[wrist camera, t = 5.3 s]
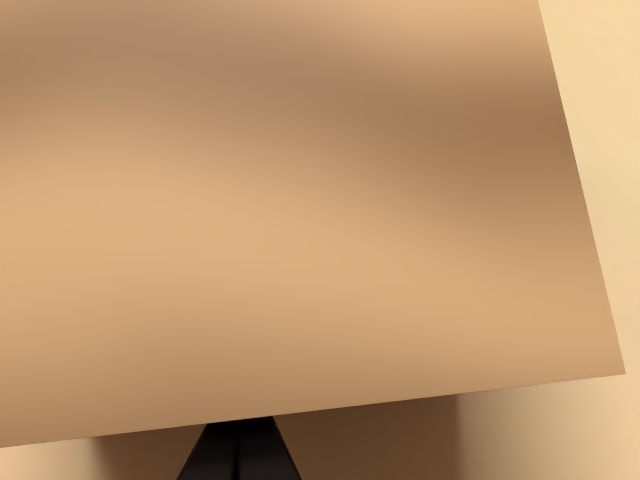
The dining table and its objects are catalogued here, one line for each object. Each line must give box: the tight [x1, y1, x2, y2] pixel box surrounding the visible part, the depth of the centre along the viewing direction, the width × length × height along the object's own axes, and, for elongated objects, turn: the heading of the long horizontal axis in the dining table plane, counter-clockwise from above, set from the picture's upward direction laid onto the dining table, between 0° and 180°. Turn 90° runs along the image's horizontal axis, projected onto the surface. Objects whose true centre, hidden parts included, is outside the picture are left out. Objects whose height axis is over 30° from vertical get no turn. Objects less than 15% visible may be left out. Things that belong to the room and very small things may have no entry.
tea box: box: [0, 0, 626, 448], centre depth 12 cm, size 10×11×8 cm
